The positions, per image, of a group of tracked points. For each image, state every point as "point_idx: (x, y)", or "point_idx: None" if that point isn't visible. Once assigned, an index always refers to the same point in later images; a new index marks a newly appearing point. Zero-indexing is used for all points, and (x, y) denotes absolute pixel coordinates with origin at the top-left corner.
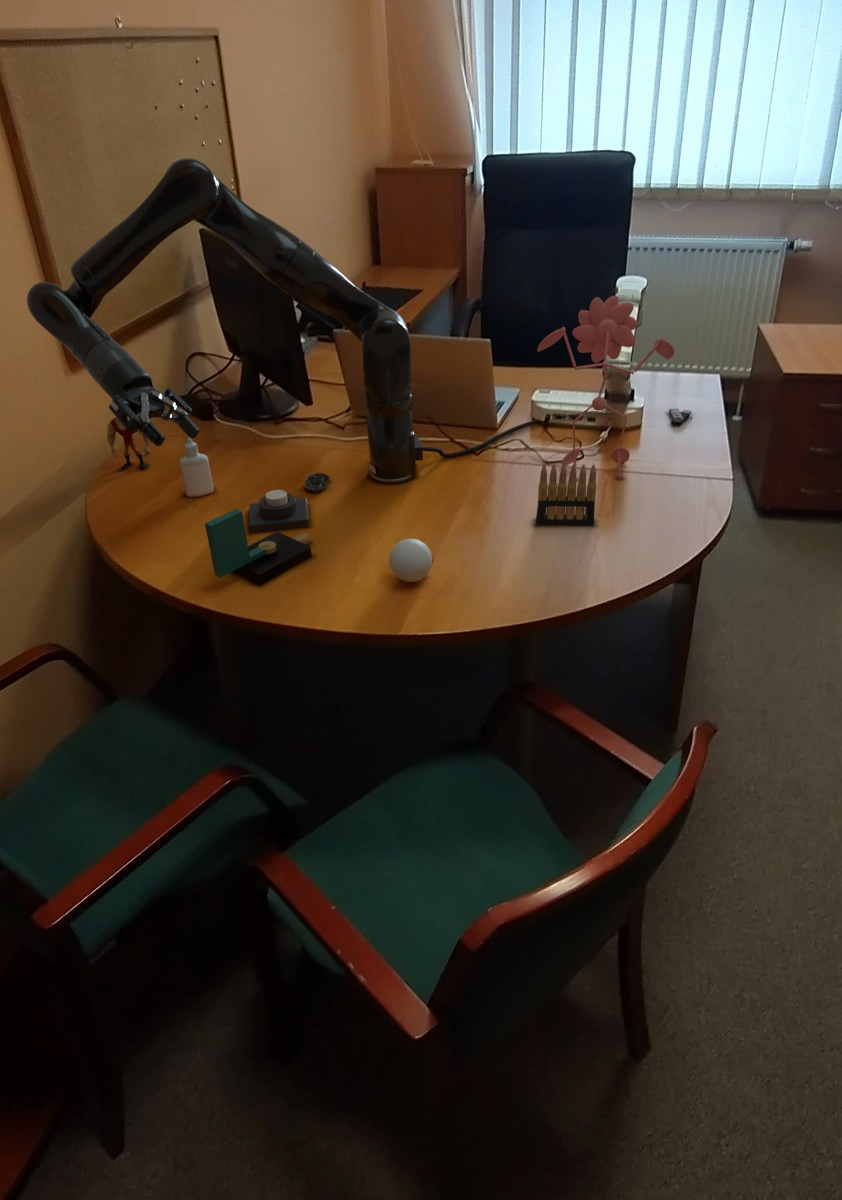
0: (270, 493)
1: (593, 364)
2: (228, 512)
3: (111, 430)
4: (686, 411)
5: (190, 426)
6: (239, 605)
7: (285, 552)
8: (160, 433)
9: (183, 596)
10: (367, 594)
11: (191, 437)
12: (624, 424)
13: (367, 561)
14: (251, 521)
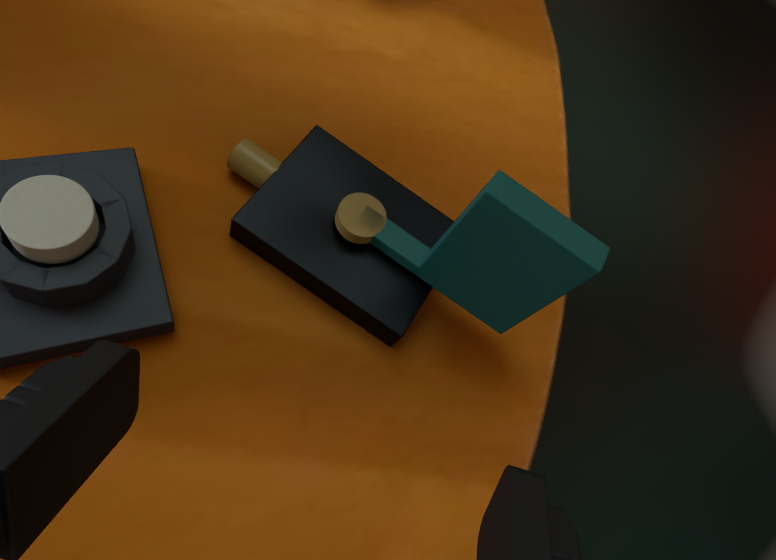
0: (35, 232)
1: None
2: (518, 210)
3: None
4: None
5: (93, 403)
6: None
7: (354, 181)
8: (532, 498)
9: (532, 423)
10: (445, 37)
11: (128, 420)
12: None
13: (319, 31)
14: (142, 321)
